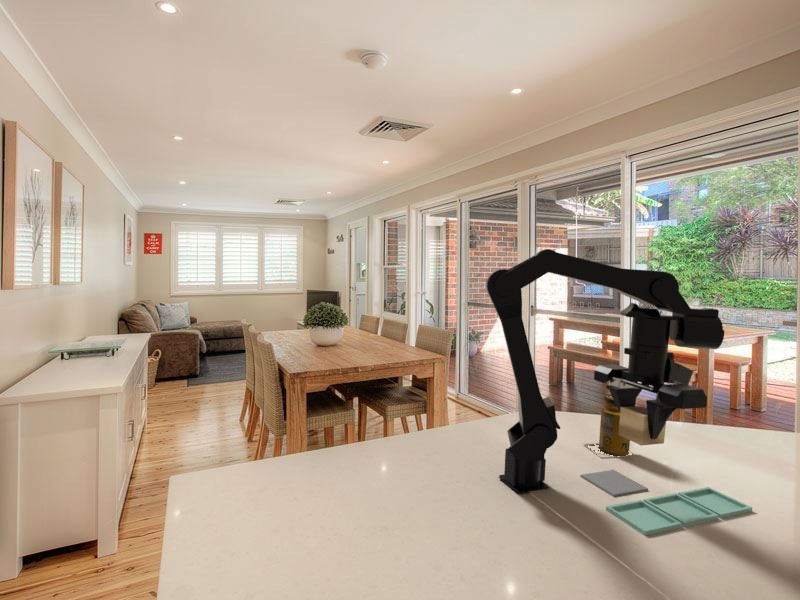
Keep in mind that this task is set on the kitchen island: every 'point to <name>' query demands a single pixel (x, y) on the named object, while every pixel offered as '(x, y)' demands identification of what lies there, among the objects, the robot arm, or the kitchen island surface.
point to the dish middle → (681, 509)
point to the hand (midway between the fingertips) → (640, 433)
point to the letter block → (637, 426)
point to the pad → (613, 483)
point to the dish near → (643, 517)
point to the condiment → (611, 431)
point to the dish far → (716, 502)
